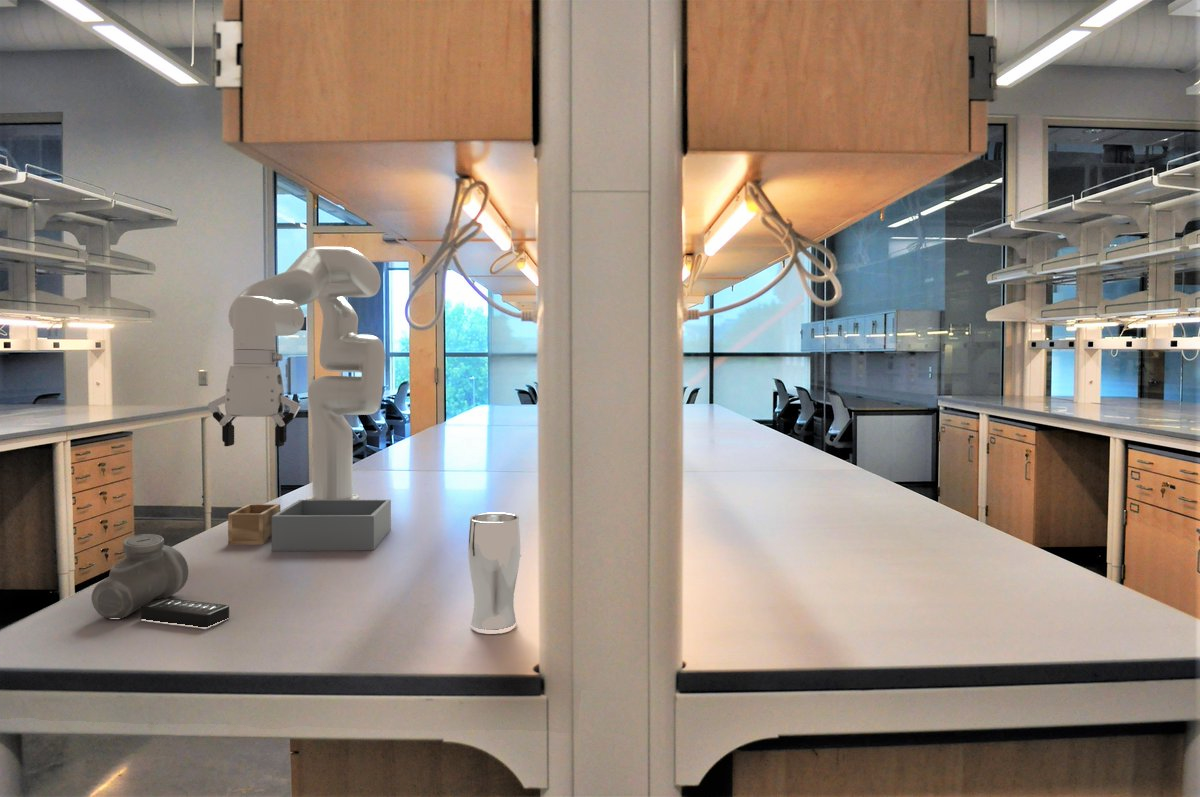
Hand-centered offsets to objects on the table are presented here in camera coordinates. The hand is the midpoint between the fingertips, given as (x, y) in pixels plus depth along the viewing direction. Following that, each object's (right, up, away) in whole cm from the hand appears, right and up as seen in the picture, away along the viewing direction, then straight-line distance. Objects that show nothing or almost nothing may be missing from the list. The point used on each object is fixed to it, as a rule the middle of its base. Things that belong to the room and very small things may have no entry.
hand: (254, 445), depth 147 cm
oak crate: (0, -19, +1) cm, 19 cm away
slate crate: (+16, -19, 0) cm, 25 cm away
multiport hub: (+12, -22, -45) cm, 52 cm away
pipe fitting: (+2, -21, -41) cm, 46 cm away
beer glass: (+54, -22, -46) cm, 74 cm away
